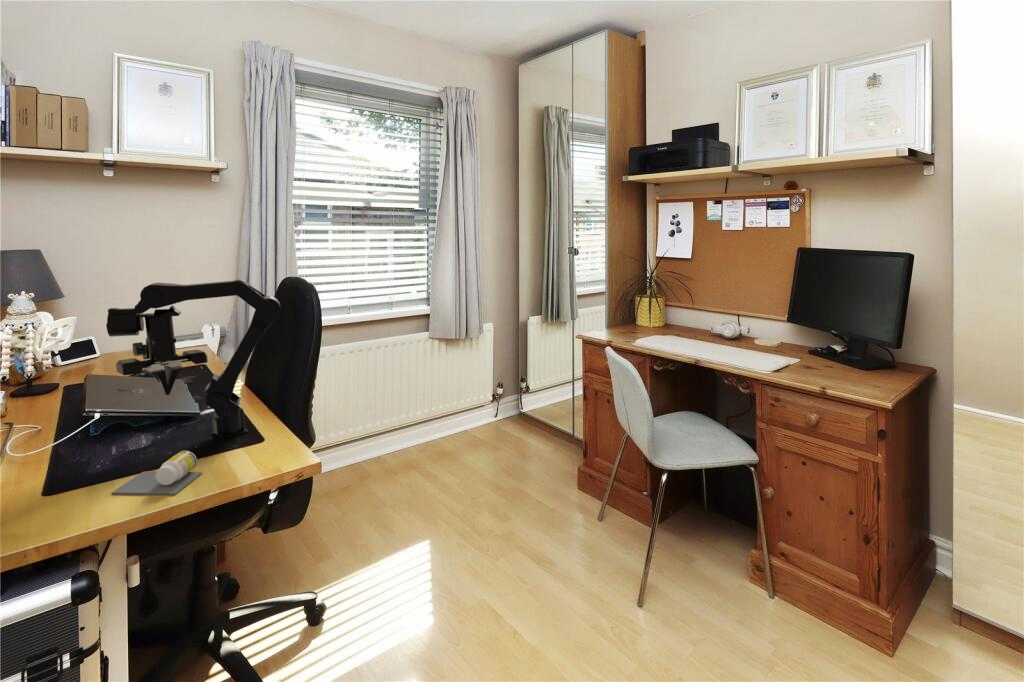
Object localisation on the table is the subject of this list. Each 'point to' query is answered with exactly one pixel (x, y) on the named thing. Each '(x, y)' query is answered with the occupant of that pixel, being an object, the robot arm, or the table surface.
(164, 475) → the supplement bottle
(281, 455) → the table surface
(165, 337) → the robot arm
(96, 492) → the table surface
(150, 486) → the mat
